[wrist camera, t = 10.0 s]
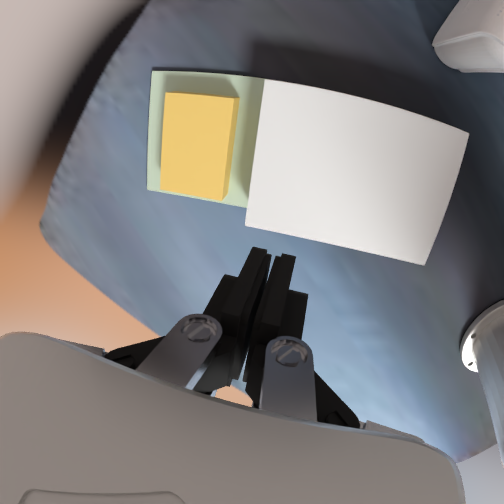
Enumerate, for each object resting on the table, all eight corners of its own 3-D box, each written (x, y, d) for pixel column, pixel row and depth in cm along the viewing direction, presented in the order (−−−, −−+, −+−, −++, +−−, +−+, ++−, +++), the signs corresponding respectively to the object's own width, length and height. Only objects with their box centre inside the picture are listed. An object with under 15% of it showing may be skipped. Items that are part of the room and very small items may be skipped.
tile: (165, 92, 24) (175, 91, 26) (160, 189, 29) (169, 182, 31) (234, 98, 24) (239, 97, 25) (221, 201, 28) (227, 193, 30)
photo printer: (472, -22, 15) (542, -58, 4) (506, 10, 15) (586, -5, 5) (422, 45, 20) (488, 27, 9) (458, 79, 20) (539, 87, 10)
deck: (451, 125, 23) (469, 133, 19) (414, 243, 29) (424, 265, 25) (272, 79, 24) (264, 79, 21) (254, 207, 31) (244, 225, 27)
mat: (269, 79, 24) (268, 79, 24) (251, 207, 31) (250, 208, 30) (154, 70, 25) (152, 70, 25) (149, 188, 32) (147, 189, 31)
